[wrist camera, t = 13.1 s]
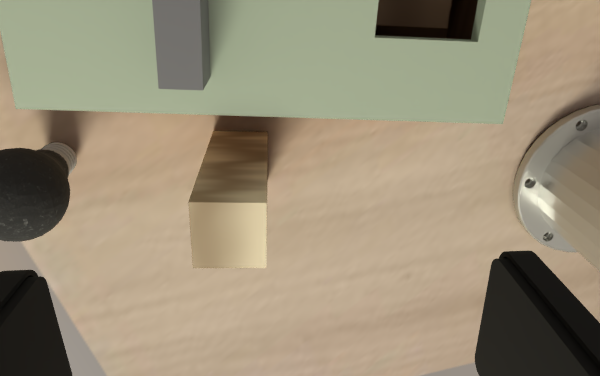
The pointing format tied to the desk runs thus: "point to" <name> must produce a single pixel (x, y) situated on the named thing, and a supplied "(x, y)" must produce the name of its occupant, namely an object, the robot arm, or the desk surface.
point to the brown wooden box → (426, 18)
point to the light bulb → (33, 190)
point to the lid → (256, 59)
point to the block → (231, 202)
